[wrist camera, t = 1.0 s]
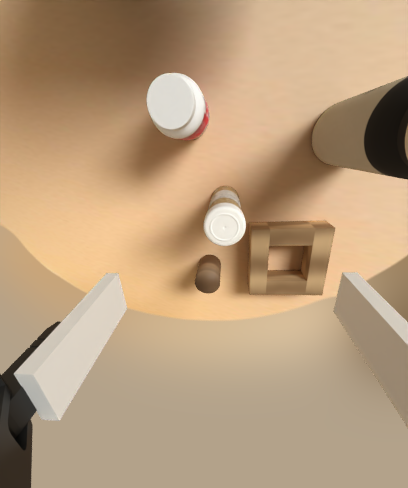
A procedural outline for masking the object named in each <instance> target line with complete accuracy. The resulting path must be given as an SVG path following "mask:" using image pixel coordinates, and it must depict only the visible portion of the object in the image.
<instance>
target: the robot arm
mask: <svg viewBox="0 0 408 488" xmlns="http://www.w3.org/2000/svg"><path fill="white" fill-rule="evenodd" d="M126 309H127V305H126V302H125V298H124V294H123V290H122V286H121V282H120V278H119V274H118V273H106V274H105V275H104V277H103V278H102V279H101V280H100V281H99V282H98V283H97V284H96V285H95V286H94V287H93V288H92V290H91V291H90V292H89V293H88V294H87V295H86V296H85V297H84V298H83V299H82V300H81V301H80V302H79V304H78V305H77V306H76V307H75V308H74V309H73V310H72V311H71V312H70V313H69V314H68V316H67V317H66V318H65V319H64V320H63V321H62V322H56V323H55V324H53V325H52V326H50V327H49V328H47V329H46V330H45V331H44V332H43V333H42V334H41V335H40V336H39V337H38V339H37V340H35V341H34V342H33V343H32V345H30V348H28V349H27V350H26V351H25V352H24V353H23V354H22V355H21V356H20V357H19V358H18V359H17V360H16V361H15V362H14V363H13V364H12V365H11V366H10V367H9V368H8V369H7V370H6V371H5V372H4V373H3V374H2V375H0V488H31V462H32V422H31V420H30V419H31V417H32V416H33V415H34V413H35V412H36V411H37V412H38V414H39V416H40V417H41V419H43V420H56V421H60V419H61V417H62V416H63V414H64V412H65V411H66V409H67V407H68V405H69V404H70V402H71V401H72V399H73V397H74V396H75V394H76V392H77V391H78V389H79V387H80V386H81V384H82V382H83V381H84V379H85V377H86V376H87V374H88V372H89V371H90V369H91V368H92V366H93V364H94V363H95V361H96V359H97V357H98V356H99V354H100V353H101V351H102V349H103V348H104V346H105V344H106V343H107V341H108V339H109V337H110V336H111V334H112V333H113V331H114V329H115V327H116V326H117V324H118V322H119V321H120V319H121V318H122V316H123V314H124V313H125V311H126ZM334 313H335V314H336V316H337V318H338V319H339V321H340V322H341V324H342V326H343V327H344V328H345V330H346V332H347V333H348V335H349V336H350V338H351V340H352V341H353V343H354V344H355V346H356V347H357V349H358V351H359V352H360V354H361V355H362V357H363V358H364V360H365V361H366V363H367V365H368V366H369V368H370V369H371V371H372V372H373V374H374V376H375V377H376V379H377V380H378V382H379V383H380V385H381V387H382V388H383V390H384V391H385V393H386V394H387V396H388V398H389V399H390V401H391V402H392V404H393V405H394V407H395V409H396V410H397V412H398V413H399V415H400V416H401V418H402V420H403V421H404V423H405V424H406V426H407V427H408V322H407V321H406V320H405V319H404V318H403V317H402V316H401V315H400V314H399V313H398V312H397V311H395V309H394V308H392V306H391V305H389V304H388V302H387V301H385V300H384V299H383V298H382V297H381V296H380V295H379V294H378V293H377V292H376V291H375V290H374V289H373V288H372V287H371V286H370V285H369V284H368V283H367V282H366V281H365V280H364V279H363V278H362V277H361V276H360V275H359V274H358V273H342V277H341V281H340V285H339V290H338V294H337V298H336V303H335V307H334Z"/></svg>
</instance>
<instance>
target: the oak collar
mask: <svg viewBox="0 0 408 488" xmlns="http://www.w3.org/2000/svg"><path fill="white" fill-rule="evenodd" d="M334 232H335V228H334V227H333V226H332V225H331V224H329V223H328V222H327V221H290V222H250V225H249V260H248V287H249V294H250V295H322V293H323V288H324V283H325V278H326V273H327V268H328V263H329V257H330V252H331V247H332V242H333V237H334ZM269 246H304V250H303V257H302V264H301V270H268V256H269Z"/></svg>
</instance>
